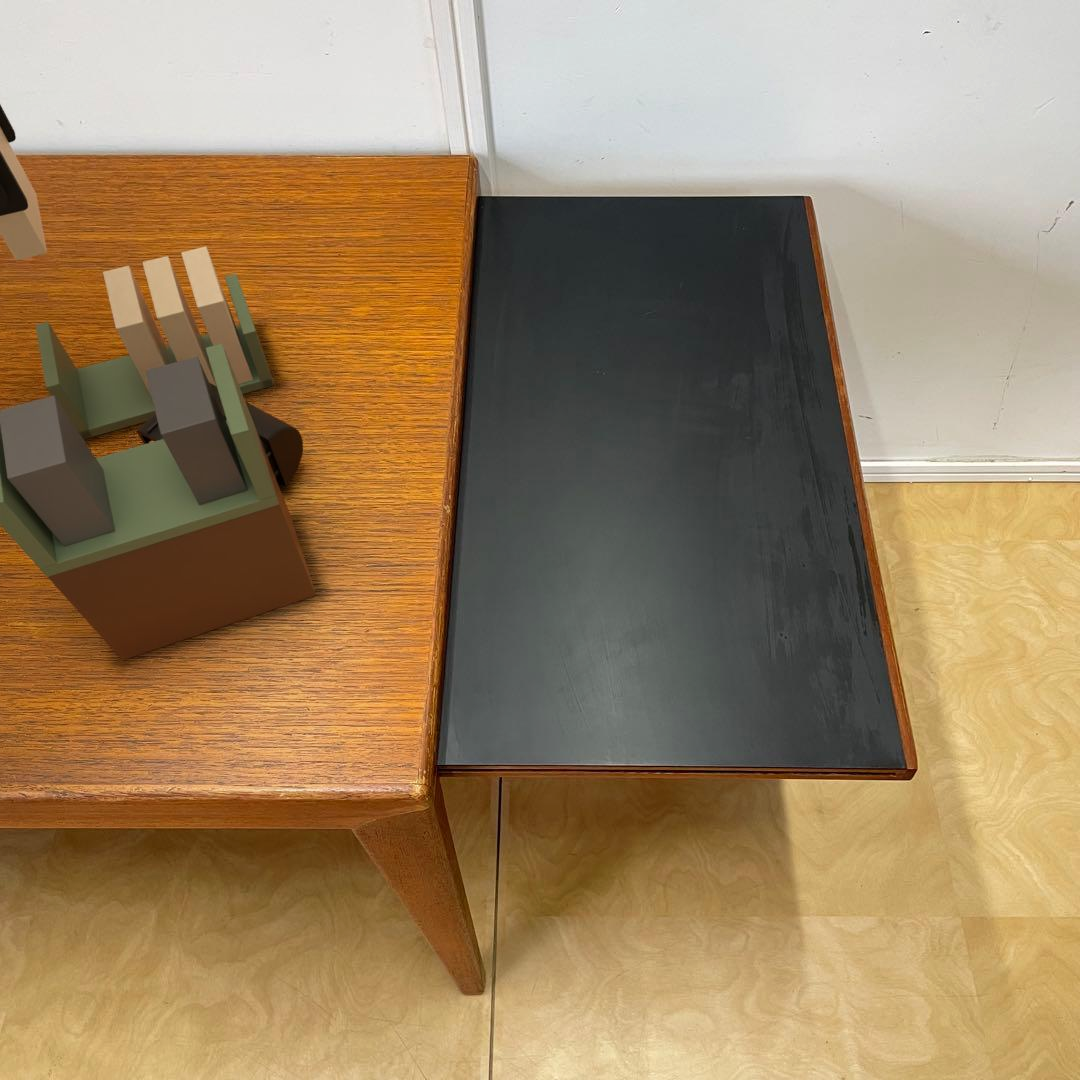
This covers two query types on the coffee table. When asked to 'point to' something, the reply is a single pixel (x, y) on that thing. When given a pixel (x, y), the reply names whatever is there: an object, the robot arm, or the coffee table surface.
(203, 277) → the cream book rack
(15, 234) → the cream book
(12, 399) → the coffee table surface
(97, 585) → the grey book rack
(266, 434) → the end cap
